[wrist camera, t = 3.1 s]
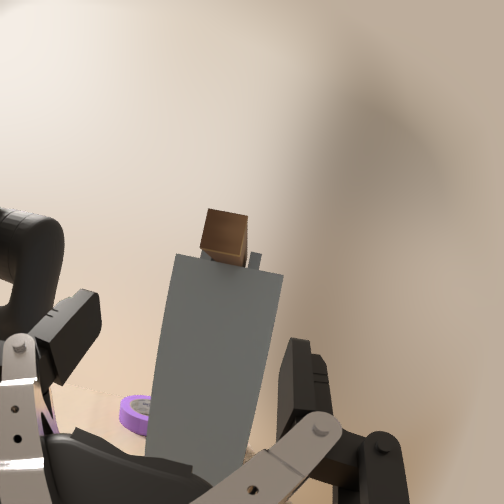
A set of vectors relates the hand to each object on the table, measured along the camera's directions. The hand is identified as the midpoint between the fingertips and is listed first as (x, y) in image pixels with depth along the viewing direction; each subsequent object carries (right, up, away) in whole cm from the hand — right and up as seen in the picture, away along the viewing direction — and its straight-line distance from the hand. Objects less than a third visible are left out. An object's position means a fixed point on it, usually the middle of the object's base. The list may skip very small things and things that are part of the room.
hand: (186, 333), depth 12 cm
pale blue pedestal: (-6, -30, +20) cm, 36 cm away
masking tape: (-18, -30, +40) cm, 53 cm away
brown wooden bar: (0, +2, +18) cm, 19 cm away
